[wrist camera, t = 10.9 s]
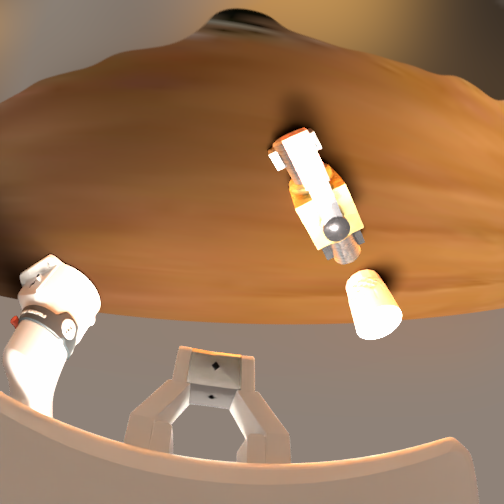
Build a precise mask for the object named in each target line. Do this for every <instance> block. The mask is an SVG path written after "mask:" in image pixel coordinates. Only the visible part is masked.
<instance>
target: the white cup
mask: <svg viewBox="0 0 504 504" xmlns="http://www.w3.org/2000/svg"><path fill="white" fill-rule="evenodd" d="M346 291H347V295H348V299H349V305H350V308H351V313H352V316H353V320H354V323H355V327H356V331H357V334H358V335H359V336H360V337H361V338H363V339H369V340H371V339H378V338H381V337H384V336H386V335H387V334H389V333H391V332H392V331H393V330H394V329H395V328H396V327H397V326H398V325H399V323H400V321H401V319H402V312H401V310H400V308H399V307H398V305H397V303H396V301H395V300H394V298H393V296H392V294H391V293H390V291H389V290H388V288H387V286H386V285H385V283H384V282H383V281H382V279H381V277H380V276H379V274H377V273H376V272H375V271H374V270H369V269H365V270H361V271H358V272H356V273H355V274H353V275H352V276H351V277H350V278H349V280H348V281H347V284H346Z"/></svg>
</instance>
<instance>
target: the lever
mask: <svg viewBox="0 0 504 504" xmlns="http://www.w3.org/2000/svg"><path fill="white" fill-rule="evenodd" d="M280 139H281V141H282V143H283V145H284V147H285V149H286V151H287V153H288V155H289V157H290V159H291V161H292V163H293V165H294V167H295V169H296V171H297V173H298V175H299V177H300V179H301V181H302V183H303V185H304V187H305V189H306V191H309V193H310V195H311V198H312V200H313V202H314V204H315V206H316V208H317V211H318V213H319V215H320V217H321V219H322V222H321V227H322V230H323V232H324V235H325V237H326V238H327V239H328V240H330V241H333V242H338V241H341V240H343V239H345V238H346V237H347V236H348V234H349V232H350V224H349V222H348V220H347V219H346V217H345V216H344V214H342V213H341V211H340V208H339V206H338V203H337V201H336V198H335V196H334V193H333V191H332V189H331V186H330V184H329V181H330V179H329V176H328V174H327V172H326V169H325V167H324V165H323V163H322V160H321V158H320V156H319V154H318V152H317V149H316V147H315V145H314V143H313V141H312V139H311V137H310V135H309V133H308V130H307V129H306V128H305V127H304V128H301V129H299V130H297V131H295V132H293V133H291V134H288V135H286V136H284V137H282V138H280Z"/></svg>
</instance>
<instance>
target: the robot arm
mask: <svg viewBox="0 0 504 504" xmlns="http://www.w3.org/2000/svg"><path fill="white" fill-rule="evenodd" d="M20 281H21V284H22V289H21V290H20V292H19V293H18V301H19V304H20V307H21V309H22V312H21V314H20V318H19V319H18V317H17V316H14V317H13V318H12V319H11V324H12V325H14V327H15V329H16V330H15V331H14V333H13V335H12V336H11V338H10V340H9V341H8V343H7V345H6V347H5V349H4V351H3V356H2V362H3V367H4V370H5V373H6V375H7V377H8V381H9V387H10V397H9V396H7V395H5V394H4V393H3V392H2V391H0V504H479V495H478V487H477V480H476V474H475V469H474V464H473V460H472V457H471V455H470V452H469V451H468V450H467V449H466V448H465V447H464V446H463V445H462V444H461V443H460V442H459V441H458V440H456V439H455V438H453V437H446V438H443V439H440V440H437V441H433V442H430V443H427V444H423V445H419V446H415V447H412V448H407V449H403V450H398V451H394V452H389V453H384V454H379V455H373V456H368V457H361V458H354V459H346V460H337V461H327V462H314V463H291V449H290V434H289V433H288V432H287V430H286V429H285V428H284V427H283V425H282V424H281V422H280V421H279V420H278V418H277V417H276V416H275V414H274V413H273V412H272V410H271V409H270V407H269V406H268V405H267V403H266V402H265V400H264V399H263V398H262V396H261V395H260V394H259V392H255V359H254V357H252V356H242V355H237V354H229V353H221V352H212V351H206V350H200V349H195V348H190V347H184V346H180V347H179V349H178V353H177V358H176V363H175V368H174V373H173V378H172V380H167V381H166V382H165V383H164V384H163V385H162V386H161V387H159V388H158V389H157V390H156V391H155V392H154V393H153V394H152V395H150V396H149V397H148V398H147V399H146V400H145V401H144V402H143V403H141V404H140V405H139V406H138V407H137V408H136V409H135V410H133V411H132V412H131V413H130V417H129V421H128V425H127V429H126V433H125V438H124V442H123V443H122V442H118V441H115V440H111V439H108V438H105V437H102V436H99V435H95V434H93V433H90V432H87V431H84V430H81V429H79V428H76V427H73V426H71V425H68V424H66V423H63V422H61V421H58V420H56V419H54V418H53V395H54V390H55V387H56V383H57V381H58V378H59V375H60V373H61V370H62V368H63V365H64V363H65V361H66V360H68V359H69V357H70V355H71V354H72V352H73V349H74V347H75V345H76V344H78V343H79V341H80V340H81V338H82V336H83V335H84V333H85V332H86V330H87V328H88V327H89V326H92V325H93V324H94V322H95V315H96V314H97V312H98V311H99V309H100V305H101V302H100V297H99V294H98V292H97V290H96V288H95V287H94V285H93V284H92V283H91V282H90V280H89V279H88V278H87V277H86V276H85V275H83V274H82V273H81V272H80V271H78V270H76V269H75V268H73V267H71V266H69V265H66V264H64V263H63V262H61V261H60V260H59V259H58V258H57V257H55V256H54V255H51V254H50V255H48V256H47V257H45V258H43V259H42V260H40V261H39V262H37V263H35V264H34V265H32V266H31V267H29V268H28V269H26V270H25V271H23V272H22V273H21V274H20ZM189 404H195V405H203V406H211V407H217V408H224V409H230V412H231V414H232V415H233V417H234V419H235V421H236V423H237V424H238V426H239V428H240V429H241V431H242V433H243V435H244V437H245V438H246V439H245V441H244V442H243V444H242V445H241V447H240V448H239V450H238V451H237V458H236V462H227V461H216V460H207V459H200V458H192V457H186V456H180V455H174V454H173V447H174V441H173V430H172V426H171V424H172V423H173V422H174V421H175V420H176V419H177V417H178V416H179V415H180V414H181V413H182V412H183V411H184V410H185V409H186V407H187V406H188V405H189Z"/></svg>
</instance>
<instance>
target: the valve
mask: <svg viewBox="0 0 504 504" xmlns="http://www.w3.org/2000/svg"><path fill="white" fill-rule="evenodd" d="M298 130H299V129H298ZM307 130H308V133H309V135H310V137H311V139H312V141H313V143H314V145H315V147H316V149H317V151H318V150H320V149H322V146H321V144H320V142H319V140H318V138H317V136H316V134H315V132H314V131H313V130H311V129H310V128H309V129H307ZM295 131H297V130H294V131H292V132H290V133H287V134H285V135H284V136H286V135H288V134H291V133H293V132H295ZM284 136H282V137H284ZM282 137H280V138H282ZM280 138H279V139H277V140H276V141H275V142H274V143H273V145H272V146H273V147H272V148H271V149H269V150H268V154H269V156H270V158H271V160H272V161H273V163H274V165H275V166H276V168H277V170H278V171H279V170H281V169H283V168H286V169H287V171H288V173H289V175H290V176H291V178H292V179H291V180H290V182H289V187H290V188H289V191H290V194H291V197H292V201H293V204H294V207H295V210H296V211H297V213H298V215H299V217H300V218H301V220H302V222H303V224H304V226H305V227H306V229H307V231H308V233H309V235H310V236H311V238H312V240H313V242H314V244H315V246H316V247H317V249H318V250H319V249H321V248H322V250H323V252H324V254H325V256H326V258H327V260H329V259H331V258H333V257H334V259H335V261H336V262H337V263H339V264H348V263H351V262H353V261H354V260H356V259H357V258H358V257H359V255H360V253H361V249H360V246H359V245H360V244H362V243H364V242H365V241H364V239H363V236H362V234H361V231H360V229H362V228H364V226H363V224H362V221H361V219H360V216H359V214H358V212H357V209H356V207H355V204H354V202H353V200H352V197H351V195H350V193H349V191H348V188H347V186H346V184H345V182H344V181H343V180H342V179H341V178H340V176H339V175H338V174H337V173H336V172H335V171H334V169H333V168H332V167H330V166H329V165H328V164H325V163H323V165H324V167H325V169H326V172H327V174H328V176H329V179H330V181H329V184H330V186H331V189H332V191H333V193H334V196H335V198H336V201H337V203H338V206H339V208H340V211H341V213H342V214H344V216H345V217H346V219H347V220H348V222H349V224H350V232H349V234H348V236H347V237H346V238H345V239H343V240H341V241H338V242H333V241H330V240H328V239H327V238H326V237H325V235H324V232H323V230H322V227H321V222H322V219H321V217H320V215H319V213H318V211H317V208H316V206H315V204H314V202H313V200H312V198H311V195H310V193H309V191H306V189H305V187H304V185H303V183H302V181H301V179H300V177H299V175H298V173H297V171H296V169H295V167H294V165H293V163H292V161H291V159H290V157H289V155H288V153H287V151H286V149H285V147H284V145H283V143H282V141H281V139H280Z"/></svg>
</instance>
